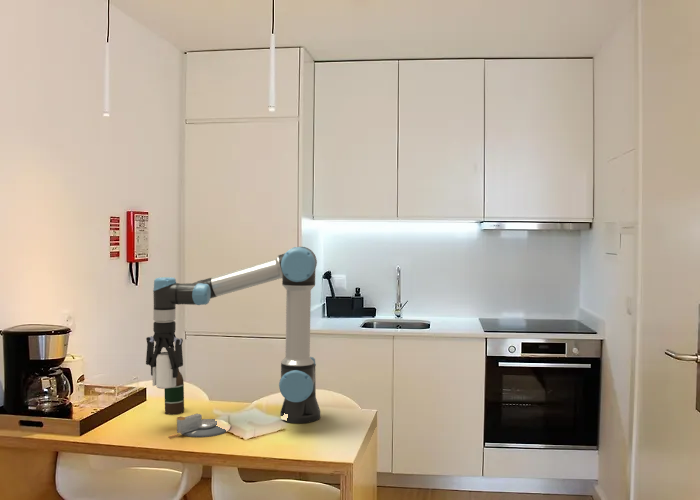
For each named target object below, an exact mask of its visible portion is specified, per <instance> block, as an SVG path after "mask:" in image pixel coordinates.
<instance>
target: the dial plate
mask: <svg viewBox="0 0 700 500" xmlns="http://www.w3.org/2000/svg"><path fill="white" fill-rule="evenodd" d="M206 419H207V418H204V419H202V420H206ZM209 419H210V420H215V419H216V418H209ZM225 432H226V430H225V429H222V428H220V427H218V426H215V427H213V428H209V429H197V430H193V431H190V432H187V433H183V434H181V436H184V437H187V438H210V437H211V438H212V437H216V436H220V435H224V434H226V433H227V432H226V433H225Z"/></svg>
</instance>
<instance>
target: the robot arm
mask: <svg viewBox="0 0 700 500" xmlns="http://www.w3.org/2000/svg"><path fill="white" fill-rule="evenodd" d="M317 265H318V260H317V257H316V254H315V253H314V252H313V250H311V249H310V248H308V247H305V246H294V247H291V248H290V249H288V250H287V251H286V252H284V253H282V254H278V255H277V256H276V257H275V258H274V259H270V260H268V261H267V260H266V261H264V262H260V263H257V264H253V265H250V266H246V267H243V268H240V269H237V270H232V271H228V272H226V273H221V274H218V275H215V276H212V277H209V278H205V279H204V278H203V279H200V280H197V281H195V282H192V283H189V282H187V283H178V282H177V280H176V278H175V277H171V276H169V277H168V276H166V277H163V276H162V277H161V276H160V277H156V278H155V279H154V280H153V290H152V292H153V294H152V295H153V318H152V319H153V321H154V322H153V325H152V327H153V328H152V329H153V335H152V336H147V337H146V338H145V339H146V354H145V356H146V357H145V365H147V366H150V375H151V376H152V386H153V387H154V386H155V387H156V358H157V356H158V354H160V353H161V352H162V350H163V349H164V348H165V350H166V352H168V355H169V359H170V363H171V366H172V368H171V369H170V387H171V388H172V387H174V386H176V377H178V368H181V367H183V366H184V359H183V358H184V357H183V342H184V339H183V338H178V337H176V334H175V333H176V324H177V323H176V321H175V320H176V310H177V309H176V307H177V306H176V305H190V306H191V305H193V306H202V305H205V306H206V305H208V304H209V303H210V301H211V299H214V298H217V297H221V296H225V295H228V294H231V293H234V292H238V291H242V290H244V289H247V288H252V287H255V286H259V285H262V284H266V283H269V282H273V281H277V280H280V279H282V281H281V282H282V283H281V284H282V286H283V288H284V289H285V290H286V297H285V299H286V303H285V304H286V305H285V307H286V309H285V357H284V358H283V359H282V360H281V361H280V380H279V383H278V388H279V391H280V394H281V395H282V397H283V402H282V405H281V410H280V414H279V415H280V416H283V415H284V413H285V414H288V418H287V422H286V423H291V424H307V423H312V422H316V421H318V420H319V419H320V418H321V409H320V406H319V402H318V400H317V395H316V385H317V384H316V378H317V377H316V367H317V363H316V358H314V357H313V356H310V355H311V353H310V352H311V301H312V300H311V297H312V296H311V295H312V293H311V292H312V289H313V288H314V287H315V286H316V270H317V269H316V268H317Z"/></svg>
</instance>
